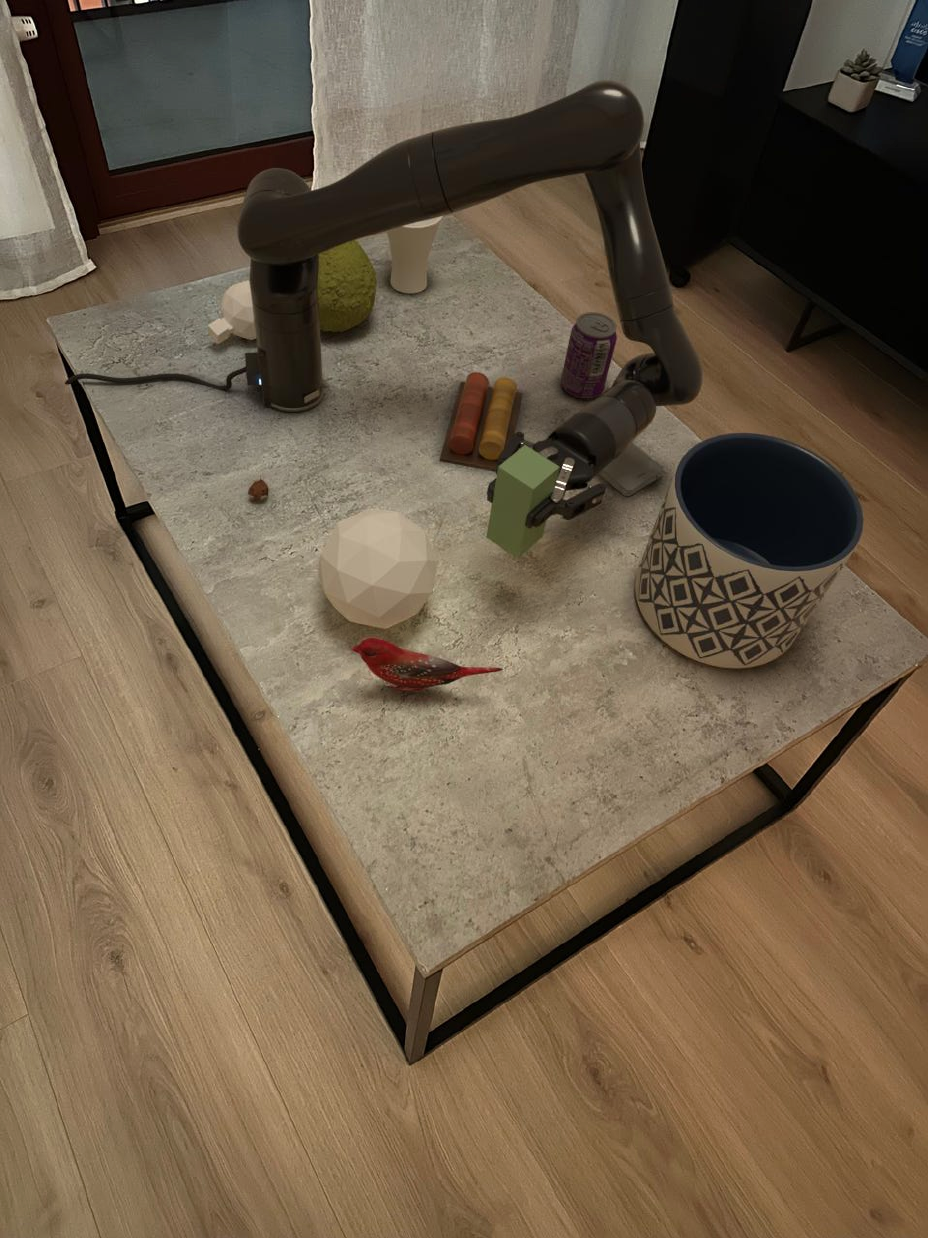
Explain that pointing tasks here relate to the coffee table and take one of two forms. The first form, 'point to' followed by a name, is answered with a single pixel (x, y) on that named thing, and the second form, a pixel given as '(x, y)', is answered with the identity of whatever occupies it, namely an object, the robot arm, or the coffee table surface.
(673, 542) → the planter
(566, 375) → the beverage can
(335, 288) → the fruit
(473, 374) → the rod rack
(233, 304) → the perfume bottle
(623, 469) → the phone
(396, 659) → the decorative bird figurine
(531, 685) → the coffee table surface
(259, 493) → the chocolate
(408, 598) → the geometric sphere
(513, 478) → the green bar
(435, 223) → the cup
